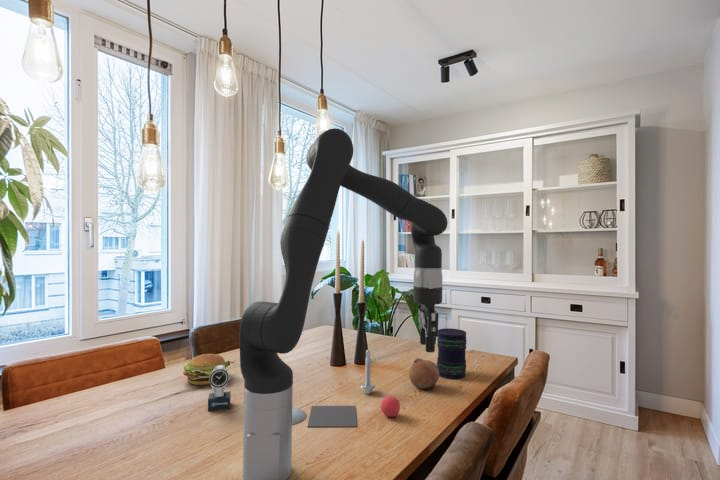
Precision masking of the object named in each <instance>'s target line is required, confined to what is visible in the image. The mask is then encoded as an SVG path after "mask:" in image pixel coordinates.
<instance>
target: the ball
mask: <svg viewBox="0 0 720 480" xmlns="http://www.w3.org/2000/svg"><path fill="white" fill-rule="evenodd" d="M380 409H381V412H382V413H383V415H385V416H387V417H389V418H393V417H396V416H397V415H398V414H399V413H400V410H401V405H400V401H399V400H398V398H396V397H395V396H392V395H389V396H386V397H384V398H383V400H382V401H381V403H380Z"/></svg>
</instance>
